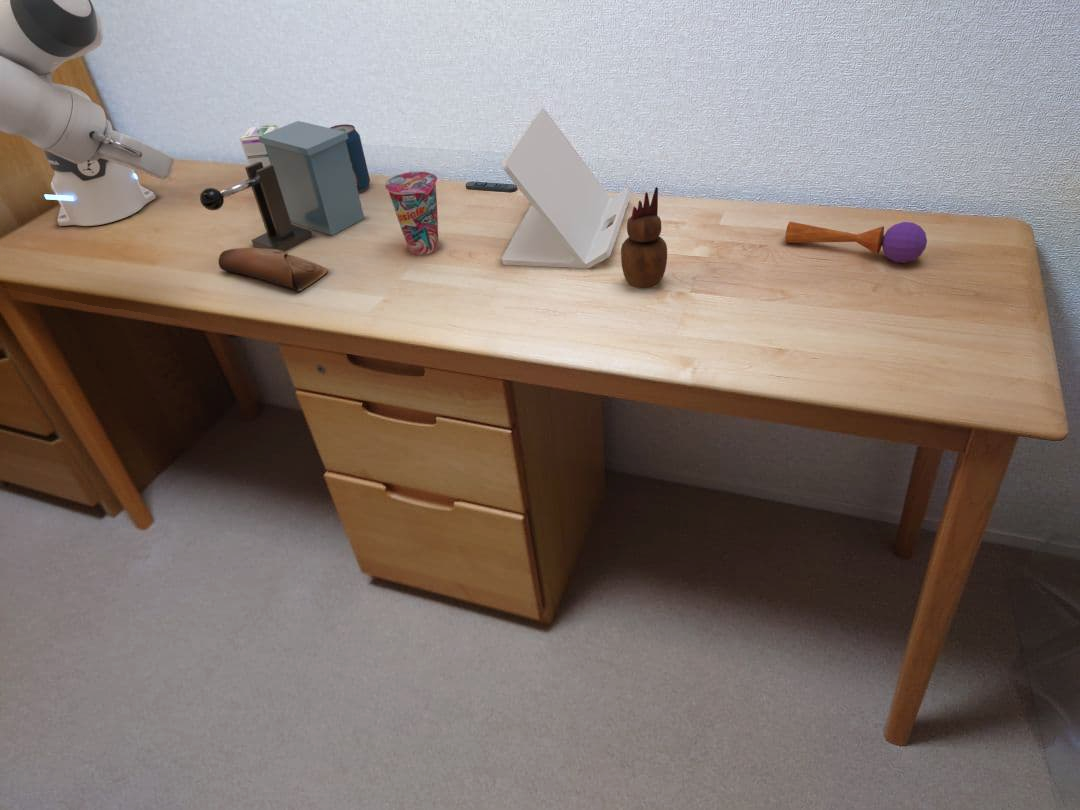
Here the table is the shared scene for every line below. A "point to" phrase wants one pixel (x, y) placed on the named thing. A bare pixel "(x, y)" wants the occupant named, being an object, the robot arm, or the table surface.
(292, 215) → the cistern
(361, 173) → the soda can
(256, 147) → the syrup box
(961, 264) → the table surface
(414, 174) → the cup
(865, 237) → the kendama
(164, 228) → the table surface
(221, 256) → the sunglasses case
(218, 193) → the flush lever
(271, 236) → the bracket
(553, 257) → the tablet stand
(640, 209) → the wooden figurine
